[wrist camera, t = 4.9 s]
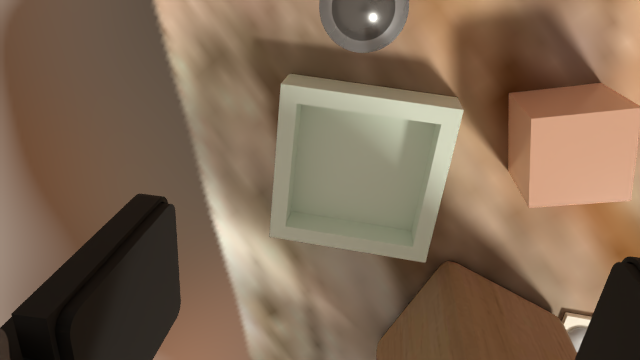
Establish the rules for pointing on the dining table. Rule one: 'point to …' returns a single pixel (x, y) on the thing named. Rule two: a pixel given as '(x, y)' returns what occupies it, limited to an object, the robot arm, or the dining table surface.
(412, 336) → the wooden block
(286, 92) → the tray
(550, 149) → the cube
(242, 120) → the dining table surface
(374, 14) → the cylinder
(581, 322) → the cream switch plate
